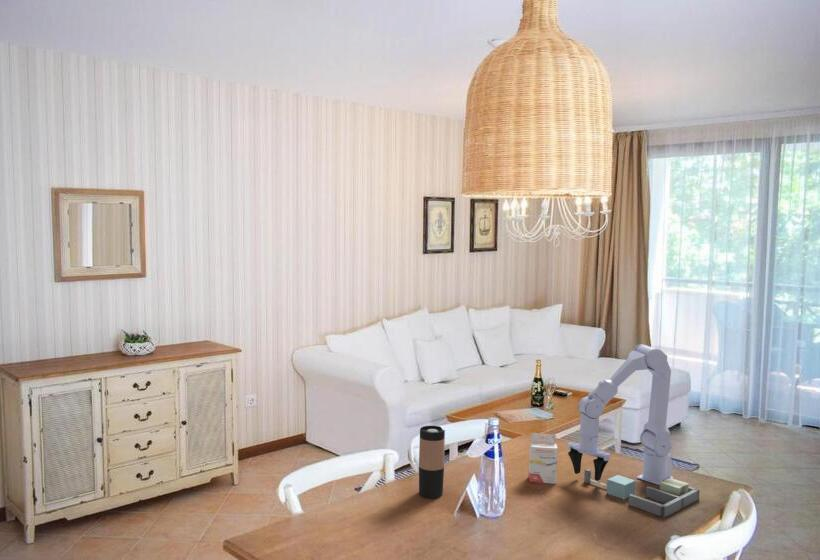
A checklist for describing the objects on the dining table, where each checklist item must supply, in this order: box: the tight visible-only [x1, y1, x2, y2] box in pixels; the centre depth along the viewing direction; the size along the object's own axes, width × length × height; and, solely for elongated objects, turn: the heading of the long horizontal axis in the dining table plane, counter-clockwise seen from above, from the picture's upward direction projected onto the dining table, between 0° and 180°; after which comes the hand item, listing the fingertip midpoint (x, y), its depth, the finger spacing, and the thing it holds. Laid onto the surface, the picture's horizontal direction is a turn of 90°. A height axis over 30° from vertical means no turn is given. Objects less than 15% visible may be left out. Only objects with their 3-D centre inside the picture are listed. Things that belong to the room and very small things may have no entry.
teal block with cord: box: [583, 468, 637, 500], centre depth 208 cm, size 6×16×4 cm, turn 41°
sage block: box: [659, 478, 690, 496], centre depth 201 cm, size 6×6×5 cm
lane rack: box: [628, 479, 700, 518], centre depth 198 cm, size 21×11×3 cm, turn 131°
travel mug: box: [418, 425, 446, 499], centre depth 200 cm, size 8×8×20 cm
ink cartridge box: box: [528, 432, 559, 485], centre depth 213 cm, size 9×5×15 cm, turn 84°
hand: (587, 476), depth 213 cm, fingers open, 7 cm apart
